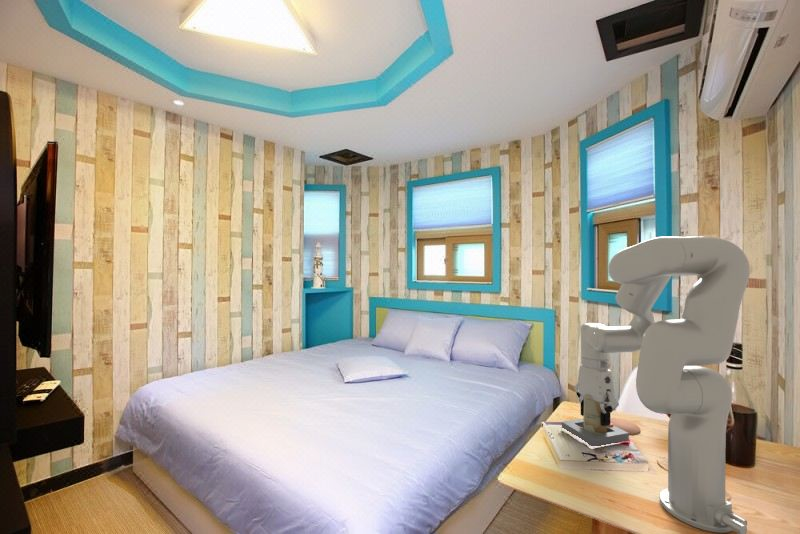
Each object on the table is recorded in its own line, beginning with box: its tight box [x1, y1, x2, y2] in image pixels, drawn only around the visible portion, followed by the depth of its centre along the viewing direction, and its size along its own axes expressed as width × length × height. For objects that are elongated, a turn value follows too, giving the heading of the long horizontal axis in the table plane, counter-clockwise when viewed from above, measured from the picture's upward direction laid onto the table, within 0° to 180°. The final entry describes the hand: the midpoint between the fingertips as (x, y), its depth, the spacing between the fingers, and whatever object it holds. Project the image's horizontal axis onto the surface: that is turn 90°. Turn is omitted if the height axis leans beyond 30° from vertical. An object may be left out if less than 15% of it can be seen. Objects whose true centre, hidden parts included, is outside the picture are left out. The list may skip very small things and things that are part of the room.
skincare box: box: [582, 395, 607, 435], centre depth 108 cm, size 6×4×12 cm
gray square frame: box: [561, 418, 630, 446], centre depth 109 cm, size 12×14×4 cm
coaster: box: [610, 417, 641, 436], centre depth 116 cm, size 11×11×1 cm
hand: (595, 419), depth 108 cm, fingers closed on skincare box, 7 cm apart
